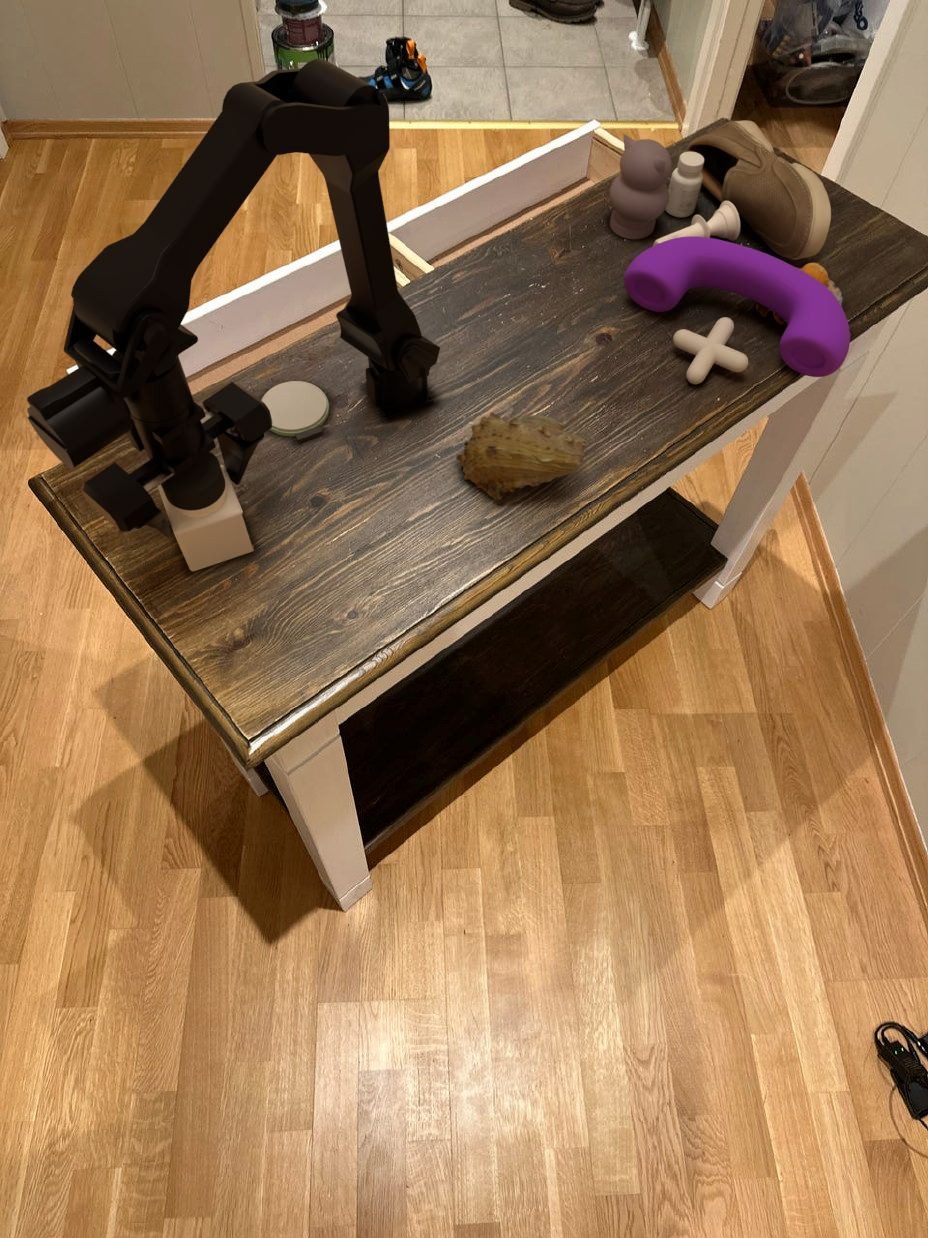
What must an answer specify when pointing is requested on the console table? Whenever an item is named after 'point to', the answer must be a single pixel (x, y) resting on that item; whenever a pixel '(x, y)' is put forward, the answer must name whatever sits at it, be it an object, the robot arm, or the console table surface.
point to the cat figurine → (639, 188)
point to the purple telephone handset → (784, 289)
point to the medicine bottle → (206, 514)
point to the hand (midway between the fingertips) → (201, 507)
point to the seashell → (519, 453)
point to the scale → (297, 409)
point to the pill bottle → (685, 185)
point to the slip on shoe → (765, 189)
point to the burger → (818, 274)
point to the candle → (711, 225)
